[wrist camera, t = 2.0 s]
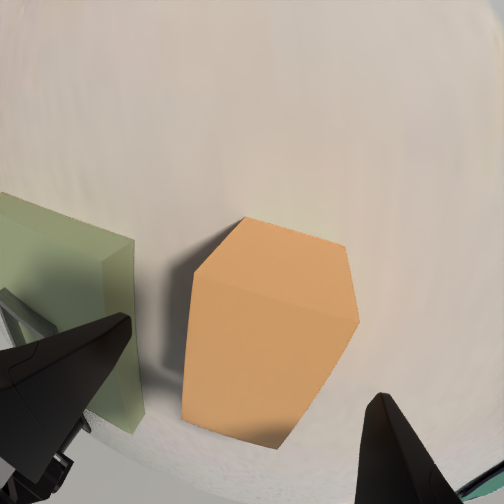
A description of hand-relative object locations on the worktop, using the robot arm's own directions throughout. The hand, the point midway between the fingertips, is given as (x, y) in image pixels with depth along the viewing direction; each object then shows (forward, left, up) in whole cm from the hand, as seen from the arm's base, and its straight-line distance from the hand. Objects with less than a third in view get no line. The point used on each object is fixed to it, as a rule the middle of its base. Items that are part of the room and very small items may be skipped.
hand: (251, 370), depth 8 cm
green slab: (-7, +14, -4) cm, 16 cm away
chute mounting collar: (-10, +15, -1) cm, 18 cm away
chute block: (0, 0, -4) cm, 4 cm away
